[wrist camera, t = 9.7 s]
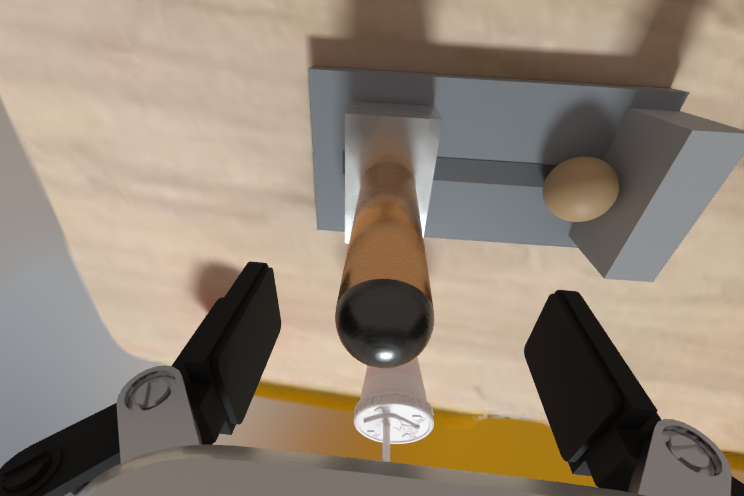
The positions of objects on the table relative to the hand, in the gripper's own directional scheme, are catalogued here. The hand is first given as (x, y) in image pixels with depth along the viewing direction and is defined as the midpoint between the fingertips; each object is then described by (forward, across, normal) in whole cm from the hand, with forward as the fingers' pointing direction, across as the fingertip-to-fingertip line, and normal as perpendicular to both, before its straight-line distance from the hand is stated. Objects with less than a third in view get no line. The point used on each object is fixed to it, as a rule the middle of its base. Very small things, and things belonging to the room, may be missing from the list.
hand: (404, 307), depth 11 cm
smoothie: (+15, -1, +18) cm, 23 cm away
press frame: (+15, -5, 0) cm, 16 cm away
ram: (+13, +1, 0) cm, 13 cm away
